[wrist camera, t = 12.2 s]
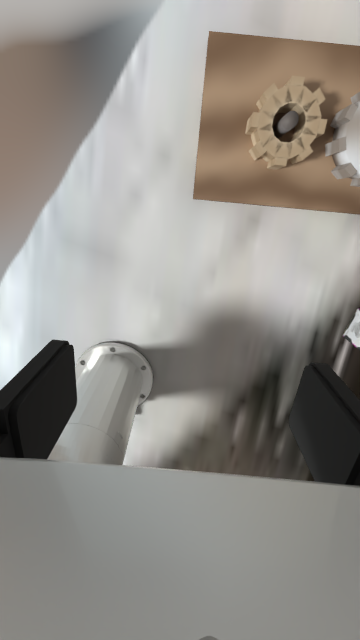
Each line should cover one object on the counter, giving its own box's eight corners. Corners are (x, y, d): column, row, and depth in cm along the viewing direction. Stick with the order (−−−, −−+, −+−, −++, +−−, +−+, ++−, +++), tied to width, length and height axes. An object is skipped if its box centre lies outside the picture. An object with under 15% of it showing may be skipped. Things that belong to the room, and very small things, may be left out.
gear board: (381, 216, 34) (426, 218, 28) (192, 198, 34) (194, 197, 28) (434, 64, 29) (506, 23, 22) (207, 42, 28) (213, -6, 22)
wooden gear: (303, 172, 31) (315, 168, 28) (240, 165, 31) (245, 161, 28) (322, 92, 28) (337, 80, 25) (252, 85, 28) (259, 72, 25)
